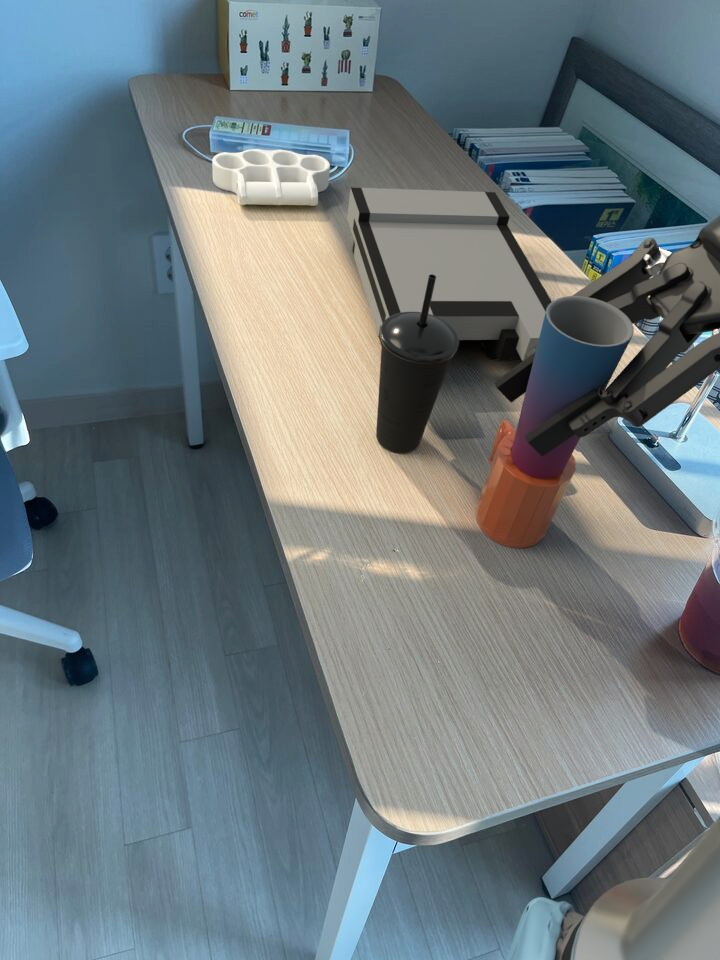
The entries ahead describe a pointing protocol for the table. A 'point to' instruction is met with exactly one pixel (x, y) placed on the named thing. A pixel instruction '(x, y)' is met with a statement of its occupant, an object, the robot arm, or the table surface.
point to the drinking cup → (411, 373)
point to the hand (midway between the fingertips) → (517, 418)
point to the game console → (448, 265)
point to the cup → (568, 372)
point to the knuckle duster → (271, 176)
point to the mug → (517, 496)
